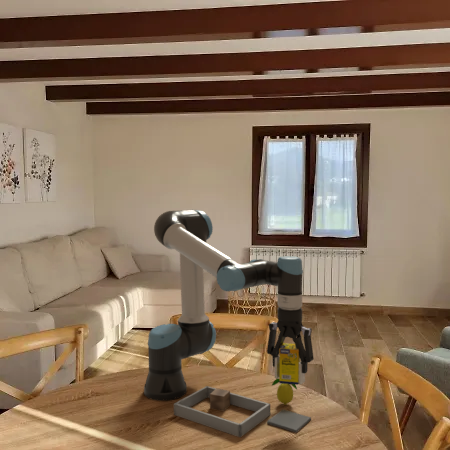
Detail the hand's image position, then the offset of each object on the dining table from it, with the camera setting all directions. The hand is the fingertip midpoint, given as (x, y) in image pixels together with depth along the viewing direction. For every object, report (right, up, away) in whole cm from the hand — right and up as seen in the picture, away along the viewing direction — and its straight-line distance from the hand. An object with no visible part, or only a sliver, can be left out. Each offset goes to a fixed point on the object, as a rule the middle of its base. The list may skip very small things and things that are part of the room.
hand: (289, 379), depth 153 cm
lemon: (0, -13, +13) cm, 18 cm away
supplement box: (0, 0, 0) cm, 0 cm away
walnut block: (-22, -13, +12) cm, 28 cm away
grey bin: (-21, -13, +6) cm, 25 cm away
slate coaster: (0, -13, +1) cm, 13 cm away
